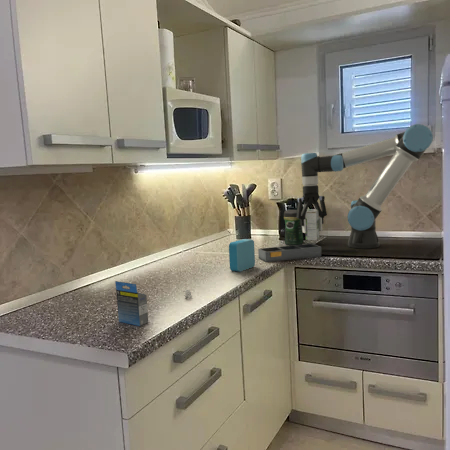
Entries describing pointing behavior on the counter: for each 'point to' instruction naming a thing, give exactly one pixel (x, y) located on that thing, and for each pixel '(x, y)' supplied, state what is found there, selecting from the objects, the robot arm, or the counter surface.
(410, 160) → the robot arm
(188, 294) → the adhesive hook
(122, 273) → the counter surface
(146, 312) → the label tape cartridge
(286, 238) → the coffee jar
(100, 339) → the counter surface
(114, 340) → the counter surface
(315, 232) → the syrup box
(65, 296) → the counter surface
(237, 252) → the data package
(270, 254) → the rack
